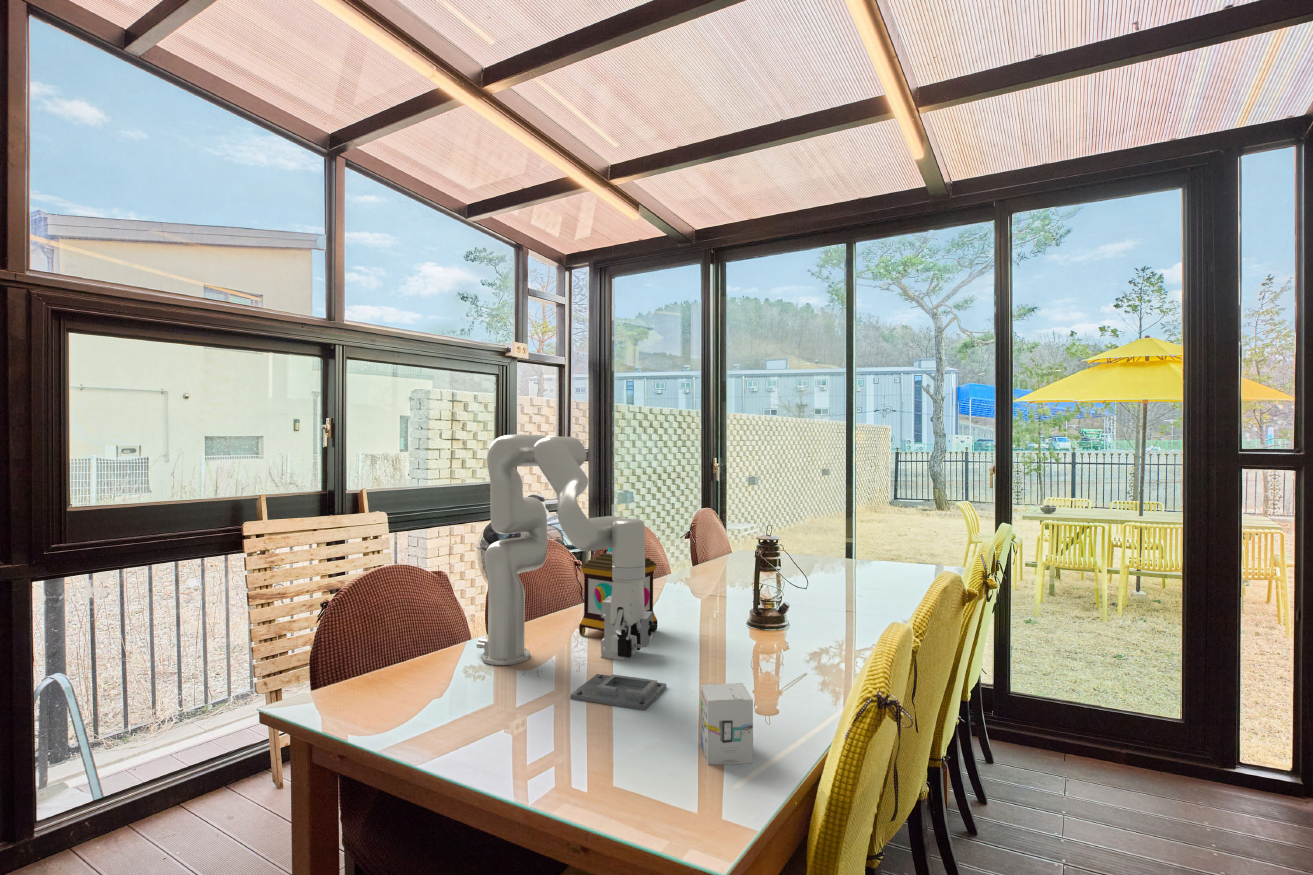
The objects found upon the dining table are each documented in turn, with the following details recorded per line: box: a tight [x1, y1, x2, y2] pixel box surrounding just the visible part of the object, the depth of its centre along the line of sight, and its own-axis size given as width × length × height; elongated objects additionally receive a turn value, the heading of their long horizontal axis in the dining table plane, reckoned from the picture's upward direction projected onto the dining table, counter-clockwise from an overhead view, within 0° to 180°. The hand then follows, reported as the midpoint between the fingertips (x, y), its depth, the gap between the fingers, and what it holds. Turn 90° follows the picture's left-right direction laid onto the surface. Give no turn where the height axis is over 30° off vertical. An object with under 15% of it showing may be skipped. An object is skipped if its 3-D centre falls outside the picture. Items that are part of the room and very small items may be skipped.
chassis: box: [570, 673, 667, 711], centre depth 151 cm, size 18×14×2 cm
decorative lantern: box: [578, 547, 658, 636], centre depth 199 cm, size 20×20×30 cm
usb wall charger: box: [611, 634, 644, 655], centre depth 150 cm, size 4×7×4 cm, turn 51°
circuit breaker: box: [600, 596, 658, 661], centre depth 178 cm, size 8×14×15 cm, turn 78°
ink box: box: [700, 682, 754, 766], centre depth 122 cm, size 8×8×12 cm
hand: (629, 652), depth 150 cm, fingers closed on usb wall charger, 4 cm apart
